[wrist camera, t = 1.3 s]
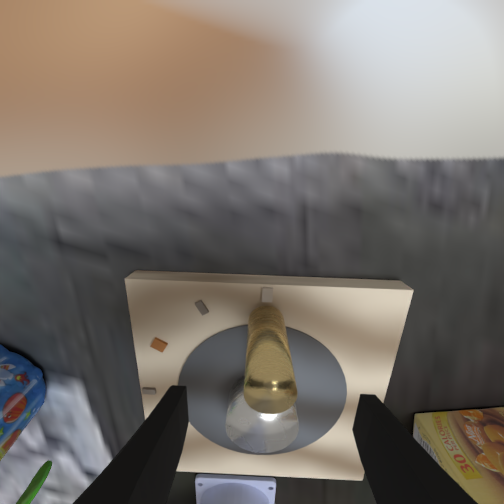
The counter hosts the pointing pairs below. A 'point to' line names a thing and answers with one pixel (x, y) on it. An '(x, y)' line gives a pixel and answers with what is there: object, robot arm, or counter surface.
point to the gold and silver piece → (264, 388)
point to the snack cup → (20, 408)
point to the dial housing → (234, 359)
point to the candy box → (467, 448)
